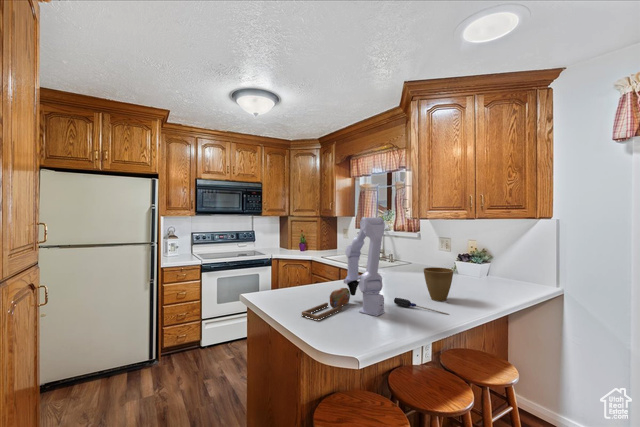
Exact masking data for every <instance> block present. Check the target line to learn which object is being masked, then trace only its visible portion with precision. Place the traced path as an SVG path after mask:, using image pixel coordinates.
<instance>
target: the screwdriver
mask: <svg viewBox="0 0 640 427" xmlns="http://www.w3.org/2000/svg"><path fill="white" fill-rule="evenodd" d="M393 303H394V304H395V305H399V306H402V307H404V308H410V307H413V308H420V309H424V310H428V311H432V312H434V313H435V312H436V313H439V314H442V315H448V316H450V313H447V312H443V311H440V310H435V309H432V308H428V307H424V306H421V305H418V304H417V303H415V302H411V300H409V299H406V298H401V297H395V298H394V300H393Z"/></svg>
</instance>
